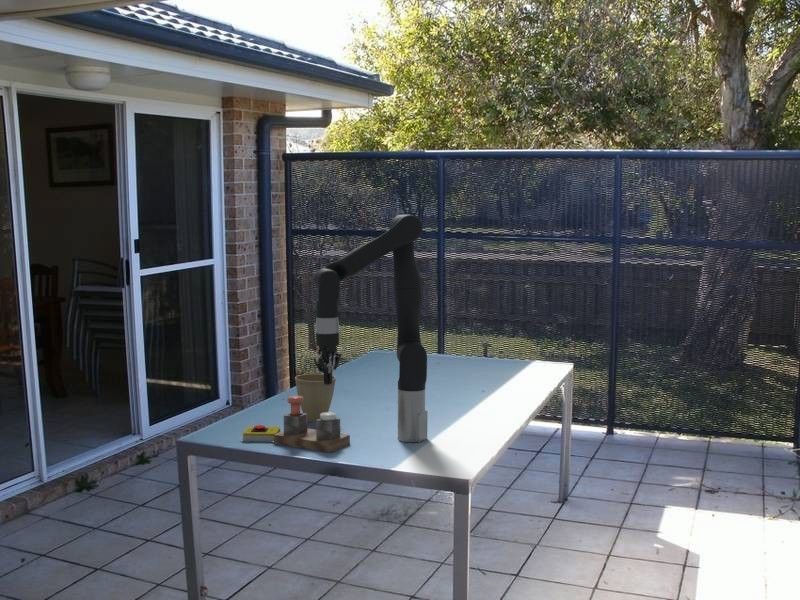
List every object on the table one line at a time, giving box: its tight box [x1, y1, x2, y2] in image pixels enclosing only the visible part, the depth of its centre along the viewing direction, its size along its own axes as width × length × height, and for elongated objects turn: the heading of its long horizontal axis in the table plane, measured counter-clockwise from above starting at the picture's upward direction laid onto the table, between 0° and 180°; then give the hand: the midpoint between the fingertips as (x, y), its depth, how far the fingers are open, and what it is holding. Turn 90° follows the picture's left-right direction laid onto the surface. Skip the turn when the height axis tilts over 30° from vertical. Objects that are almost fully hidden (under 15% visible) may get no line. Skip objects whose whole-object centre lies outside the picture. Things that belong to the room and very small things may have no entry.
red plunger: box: [287, 395, 303, 416], centre depth 268 cm, size 5×5×7 cm
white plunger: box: [320, 411, 337, 421], centre depth 262 cm, size 5×5×7 cm
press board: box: [273, 412, 351, 453], centre depth 266 cm, size 22×12×9 cm, turn 61°
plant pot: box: [294, 373, 337, 423], centre depth 297 cm, size 15×15×16 cm
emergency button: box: [240, 424, 281, 442], centre depth 273 cm, size 9×4×15 cm
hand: (328, 384), depth 261 cm, fingers closed
